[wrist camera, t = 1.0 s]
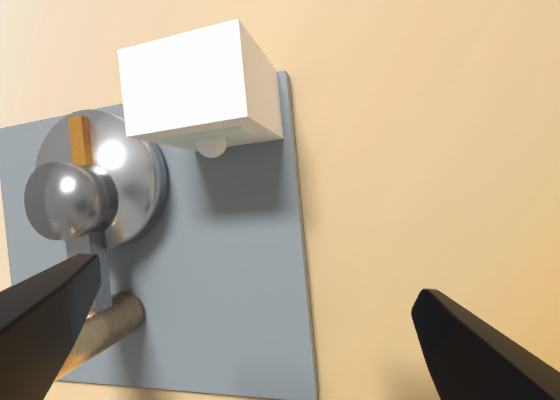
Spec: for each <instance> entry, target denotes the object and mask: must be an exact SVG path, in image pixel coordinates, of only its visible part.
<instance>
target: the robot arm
mask: <svg viewBox="0 0 560 400" xmlns="http://www.w3.org/2000/svg"><path fill="white" fill-rule="evenodd" d="M100 285H101V267H100V258H99V256H98V255H97V254H92V253H79V254H76V255H74V256H72V257H70V258H68V259H66V260H64V261H62V262H60V263H58V264H56V265H54V266H52V267H50V268H48V269H46V270H44V271H42V272H39V273H37V274H35V275H33V276H31V277H29V278H27V279H25V280H23V281H21V282H19V283H17V284H15V285H13V286H11V287H9V288H7V289H5V290H3V291H1V292H0V400H43V399H44V398H45V396H46V394H47V392H48V391H49V389H50V387H51V385H52V384H53V382H54V380H55V379H56V377H57V375H58V373H59V372H60V370H61V368H62V366H63V365H64V363H65V361H66V359H67V358H68V356H69V354H70V352H71V351H72V349H73V347H74V345H75V343H76V341H77V339H78V336H79V334H80V332H81V330H82V327H83V325H84V323H85V321H86V318H87V316H88V314H89V311H90V309H91V307H92V305H93V302H94V300H95V298H96V296H97V293H98V291H99V289H100ZM411 315H412V319H413V323H414V326H415V329H416V332H417V336H418V339H419V342H420V345H421V348H422V352H423V355H424V358H425V361H426V364H427V367H428V370H429V372H430V375H431V377H432V380H433V382H434V385H435V387H436V390H437V392H438V394H439V397H440V399H441V400H560V372H558V371H557V370H555V369H554V368H552V367H551V366H549V365H548V364H546V363H545V362H543V361H542V360H541V359H539V358H538V357H536V356H535V355H533V354H532V353H530V352H529V351H527V350H526V349H524V348H523V347H521V346H520V345H518V344H517V343H515V342H514V341H512V340H511V339H509V338H508V337H507V336H505V335H504V334H502V333H501V332H499V331H498V330H496V329H495V328H493V327H492V326H490V325H489V324H487V323H486V322H484V321H483V320H481V319H480V318H478V317H477V316H475V315H474V314H473V313H471V312H470V311H468V310H467V309H465V308H464V307H462V306H461V305H459V304H458V303H456V302H455V301H453V300H452V299H450V298H449V297H447V296H446V295H444V294H443V293H441V292H440V291H438V290H435V289H426V288H425V289H423V290H421V291H420V293H419V295H418V297H417V299H416V301H415V303H414V305H413V307H412V311H411Z"/></svg>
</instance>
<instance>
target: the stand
mask: <svg viewBox="0 0 560 400" xmlns="http://www.w3.org/2000/svg"><path fill="white" fill-rule="evenodd" d="M118 59H119V69H120V79H121V89H122V98H123V104H118V105H113V106H108V107H103V108H99V109H94V110H98V111H103V112H107V113H110V114H113V115H117V116H120V117H124V118H125V128H126V137H129V138H134V139H139V140H143V141H148V142H153V143H156V144H157V146H158V148H159V150H160V152H161V154H162V157H163V160H164V164H165V169H166V177H167V188H166V196H165V201H164V204H163V208H162V210H161V213H160V215H159V217H158V219H157V220H156V222H155V223H154V225H153V226H152V227H151V229H150V230H149V231H148V232H147V233H146V234H145V235H143V236H142V237H141V238H139V239H138V240H136V241H134V242H132V243H129V244H126V245H122V246H118V247H114V248H109V249H107V258H108V268H109V278H110V288H111V295H112V294H114V293H117V292H119V291H126V292H129V293H131V294H133V295H134V296H135V297H136V298H137V299H138V300H139V302H140V304H141V306H142V310H143V320H142V323H141V325H140V327H139V328H138V329H137V330H136V331H135V332H133V333H131V334H130V335H128V336H127V337H125V338H124V339H122V340H120V341H119V342H117V343H116V344H114V345H112V346H111V347H109V348H108V349H106V350H105V351H103V352H101V353H100V354H98V355H97V356H95V357H93V358H92V359H90V360H89V361H87V362H86V363H84V364H82V365H81V366H79V367H78V368H76V369H74V370H73V371H71V372H70V373H68V374H66V375H65V376H63V377H62V378H60V379H59V380H62V381H74V382H85V383H97V384H108V385H120V386H132V387H143V388H155V389H166V390H178V391H190V392H201V393H213V394H224V395H236V396H248V397H259V398H271V399H282V400H317V398H318V393H319V389H318V378H317V367H316V357H315V346H314V335H313V324H312V314H311V303H310V292H309V281H308V271H307V260H306V249H305V239H304V228H303V217H302V206H301V196H300V185H299V174H298V164H297V153H296V142H295V131H294V121H293V110H292V99H291V88H290V78H289V75H288V73H287V72H286V70H285V71H280V72H277V71H276V69H275V68H274V67H273V65H272V64H271V63H270V61H269V60H268V58H267V57H266V56H265V54H264V53H263V52H262V50H261V49H260V48H259V46H258V45H257V43H256V42H255V41H254V39H253V38H252V37H251V35H250V34H249V33H248V31H247V30H246V28H245V27H244V26H243V24H242V23H241V22H240V20H239V19H235V20H231V21H227V22H223V23H220V24H216V25H212V26H208V27H204V28H200V29H197V30H193V31H189V32H185V33H181V34H177V35H174V36H170V37H166V38H162V39H158V40H154V41H150V42H147V43H143V44H139V45H135V46H131V47H127V48H124V49H120V50H118ZM66 116H67V115H64V116H59V117H54V118H50V119H45V120H40V121H35V122H30V123H25V124H20V125H15V126H10V127H5V128H1V129H0V181H1V190H2V200H3V209H4V218H5V228H6V237H7V246H8V256H9V265H10V274H11V283H12V286H13V285H15V284H17V283H19V282H21V281H23V280H25V279H27V278H29V277H31V276H33V275H35V274H37V273H39V272H42V271H44V270H46V269H48V268H50V267H52V266H54V265H56V264H58V263H60V262H62V261H64V260H66V259H67V252H66V243H65V242H64V241H63V240H50V239H47V238H45V237H43V236H41V235H40V234H39V233H38V232H36V231H35V229H34V228H33V227H32V225H31V224H30V222H29V220H28V217H27V215H26V211H25V206H24V193H25V188H26V184H27V182H28V179H29V177H30V176H31V174H32V173H33V172H34V171H35V165H36V160H37V156H38V153H39V150H40V147H41V145H42V143H43V141H44V139H45V137H46V136H47V134H48V133H49V131H50V130H51V129H52V128H53V126H54V125H55V124H56V123H58V122H59V121H60V120H61V119H63V118H64V117H66Z"/></svg>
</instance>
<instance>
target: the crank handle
mask: <svg viewBox="0 0 560 400" xmlns="http://www.w3.org/2000/svg"><path fill="white" fill-rule="evenodd" d="M166 188H167V177H166V169H165V164H164V160H163V157H162V154H161V152H160V150H159V148H158V146H157V144H156V143H153V142H148V141H143V140H139V139H134V138H129V137H126V128H125V118H124V117H120V116H117V115H113V114H110V113H107V112H103V111H98V110H81V111H77V112H74V113H72V114H69V115H67V116H66V117H64V118H63V119H61V120H60V121H59V122H58V123H56V124H55V125H54V126H53V128H52V129H51V130H50V131H49V133H48V134H47V136H46V137H45V139H44V141H43V143H42V145H41V147H40V150H39V153H38V156H37V160H36V165H35V171H34V172H33V173H32V174H31V176H30V177H29V179H28V182H27V184H26V188H25V193H24V206H25V211H26V215H27V217H28V220H29V222H30V224H31V225H32V227H33V228H34V229H35V231H36V232H38V233H39V234H40V235H41V236H43V237H45V238H47V239H50V240H63V241H64V242H65V243H66V252H67V259H68V258H70V257H72V256H74V255H76V254H79V253H92V254H97V255H98V256H99V258H100V267H101V285H100V289H99V291H98V293H97V296H96V298H95V300H94V302H93V305H92V307H91V309H90V311H89V314H88V316H87V318H86V321H85V323H84V325H83V327H82V330H81V332H80V334H79V336H78V339H77V341H76V343H75V345H74V347H73V349H72V351H71V352H70V354H69V356H68V358H67V359H66V361H65V363H64V365H63V366H62V368H61V370H60V372H59V373H58V375H57V377H56V379H55V380H54V382H55V381H57V380H59V379H60V378H62V377H63V376H65V375H66V374H68V373H70V372H71V371H73V370H74V369H76V368H78V367H79V366H81V365H82V364H84V363H86V362H87V361H89V360H90V359H92V358H93V357H95V356H97V355H98V354H100V353H101V352H103V351H105V350H106V349H108V348H109V347H111V346H112V345H114V344H116V343H117V342H119V341H120V340H122V339H124V338H125V337H127V336H128V335H130V334H131V333H133V332H135V331H136V330H137V329H138V328H139V327H140V325H141V323H142V320H143V310H142V306H141V304H140V302H139V300H138V299H137V298H136V297H135V296H134V295H133V294H131V293H129V292H126V291H119V292H117V293H114V294H112V295H111V288H110V278H109V268H108V258H107V249H109V248H114V247H118V246H122V245H126V244H129V243H132V242H134V241H136V240H138V239H139V238H141V237H142V236H143V235H145V234H146V233H147V232H148V231H149V230H150V229H151V227H152V226H153V225H154V223H155V222H156V220H157V219H158V217H159V215H160V213H161V210H162V208H163V204H164V201H165V196H166ZM54 382H53V383H54Z"/></svg>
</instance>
